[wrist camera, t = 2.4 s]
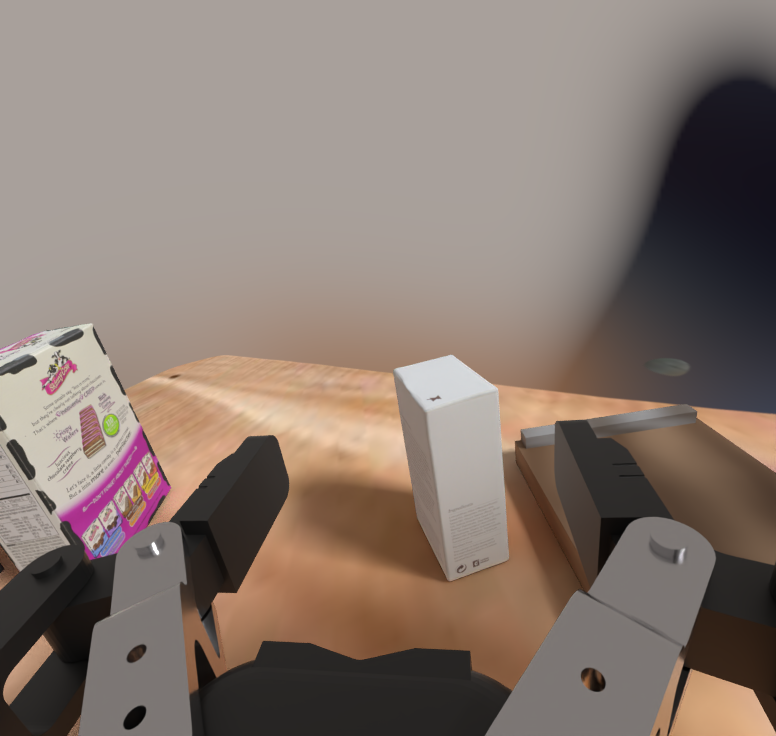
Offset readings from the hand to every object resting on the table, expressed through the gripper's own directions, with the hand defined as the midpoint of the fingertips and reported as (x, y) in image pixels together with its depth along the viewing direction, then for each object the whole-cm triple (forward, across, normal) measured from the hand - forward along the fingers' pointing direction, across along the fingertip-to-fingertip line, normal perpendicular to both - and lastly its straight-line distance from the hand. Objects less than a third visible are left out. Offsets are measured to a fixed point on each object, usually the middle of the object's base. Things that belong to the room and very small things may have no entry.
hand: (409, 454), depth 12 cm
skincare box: (+12, 0, +15) cm, 19 cm away
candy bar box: (+12, +27, +15) cm, 33 cm away
